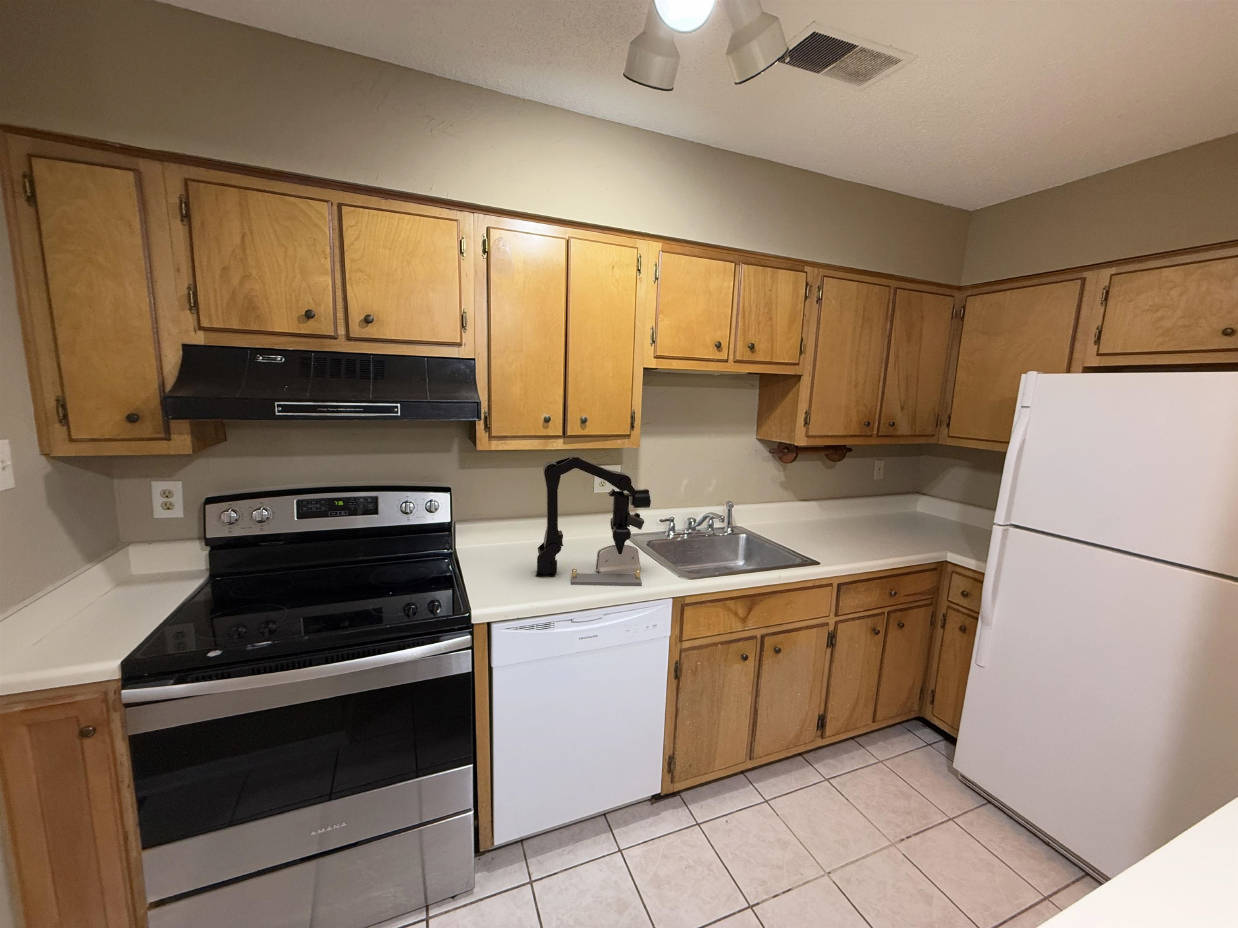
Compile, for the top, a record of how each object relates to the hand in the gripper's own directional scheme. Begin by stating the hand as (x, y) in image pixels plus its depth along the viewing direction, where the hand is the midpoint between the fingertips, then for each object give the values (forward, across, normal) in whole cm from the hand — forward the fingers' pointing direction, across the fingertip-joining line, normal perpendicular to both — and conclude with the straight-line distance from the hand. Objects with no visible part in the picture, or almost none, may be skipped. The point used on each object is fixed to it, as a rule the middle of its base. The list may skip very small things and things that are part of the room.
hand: (619, 549), depth 182 cm
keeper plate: (+8, -10, +5) cm, 13 cm away
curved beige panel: (+9, 0, 0) cm, 9 cm away
